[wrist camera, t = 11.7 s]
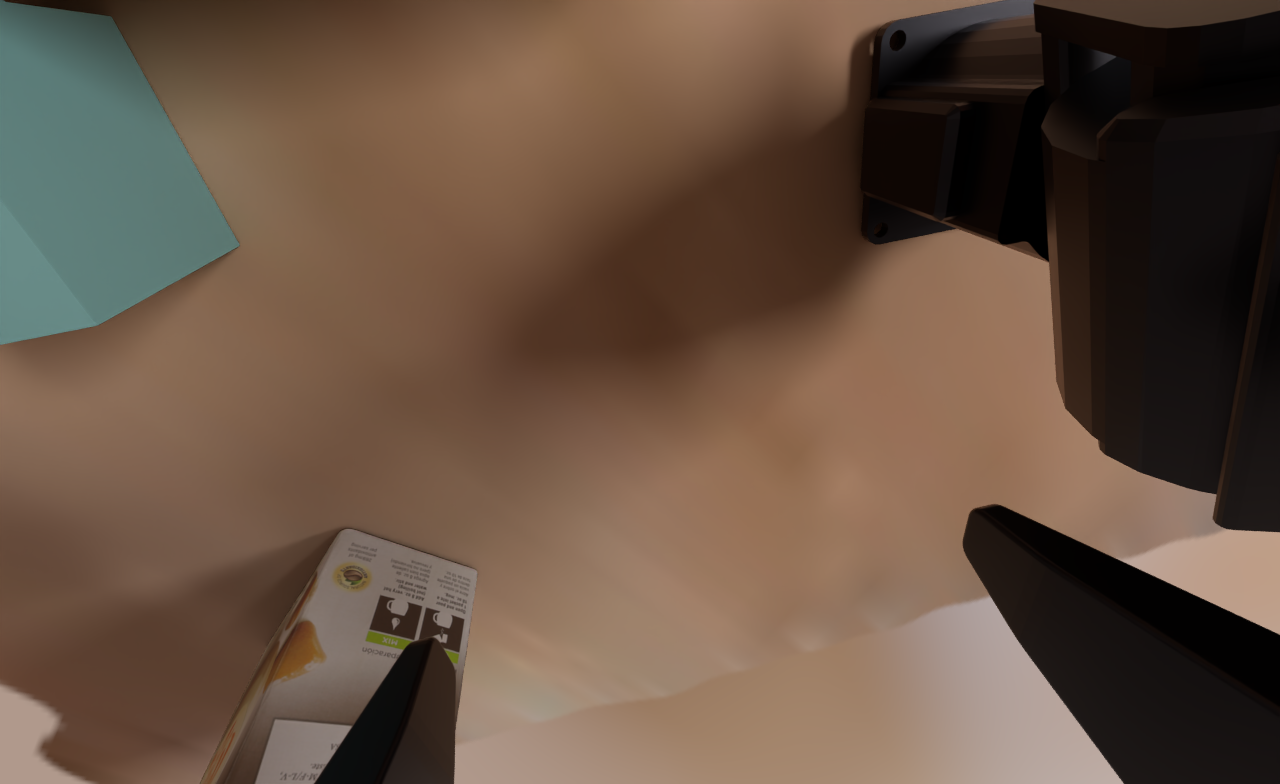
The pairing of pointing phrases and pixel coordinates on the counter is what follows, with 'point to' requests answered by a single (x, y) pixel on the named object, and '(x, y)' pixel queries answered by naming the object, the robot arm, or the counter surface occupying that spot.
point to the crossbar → (89, 178)
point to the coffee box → (340, 656)
